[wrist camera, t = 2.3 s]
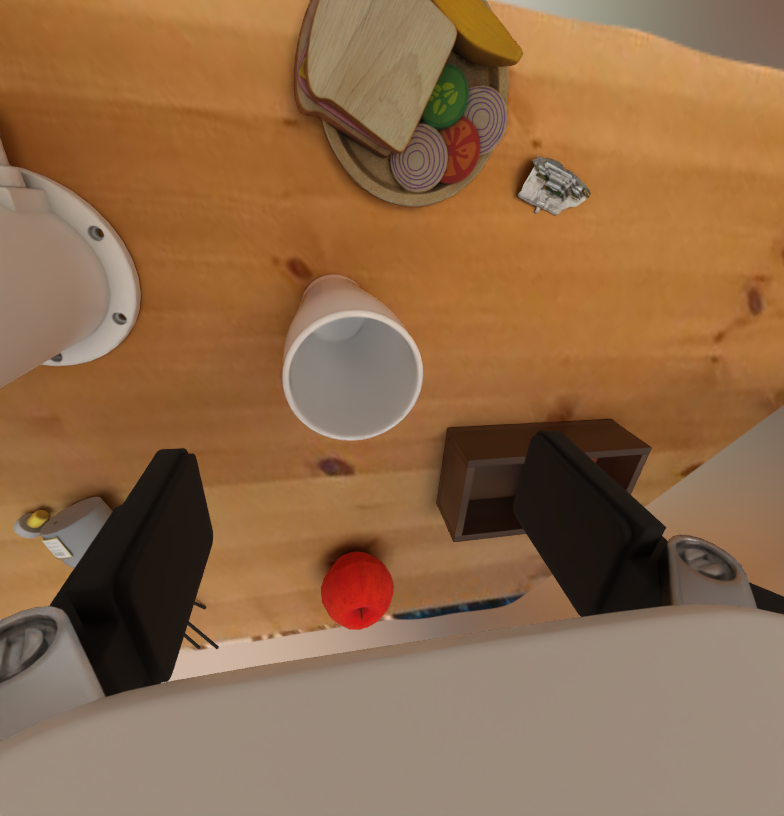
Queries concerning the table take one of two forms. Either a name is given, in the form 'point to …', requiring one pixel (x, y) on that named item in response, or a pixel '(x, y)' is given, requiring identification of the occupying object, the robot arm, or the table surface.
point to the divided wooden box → (519, 470)
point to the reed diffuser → (75, 534)
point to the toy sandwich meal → (406, 91)
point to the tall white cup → (349, 362)
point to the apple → (357, 590)
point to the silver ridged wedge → (553, 187)
